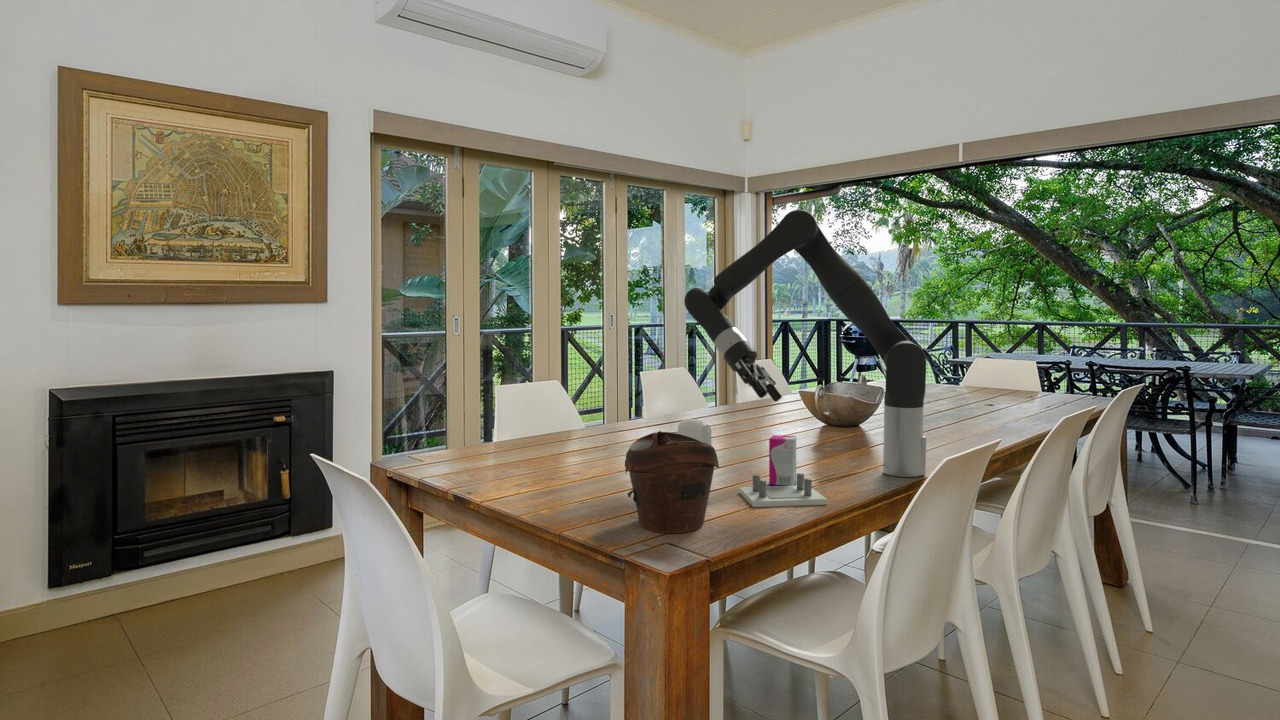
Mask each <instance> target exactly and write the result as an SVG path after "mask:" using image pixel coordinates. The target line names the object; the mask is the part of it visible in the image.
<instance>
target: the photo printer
mask: <svg viewBox="0 0 1280 720" xmlns="http://www.w3.org/2000/svg"><path fill="white" fill-rule="evenodd" d="M677 434H682V435H685V436H688V437H691V438H694V439H696V440H699V441H701V442H703V443H706V444H708V445H711V446H712V429H711V425H709V424H708V423H707V422H705V421H703V420H701V419H695V418H689V419H688V418H687V419H684V420H681V421H679V423H678V426H677Z"/></svg>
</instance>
